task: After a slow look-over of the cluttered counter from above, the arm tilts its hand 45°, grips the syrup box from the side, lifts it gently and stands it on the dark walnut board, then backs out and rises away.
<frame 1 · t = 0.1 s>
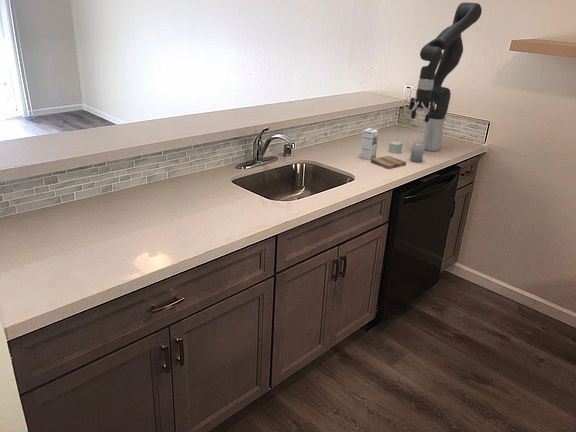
hand: (419, 120, 246), 17 cm above the worktop, tool pointing down, fingers open, 8 cm apart
sage block: (394, 152, 253), on the worktop
syrup box: (367, 158, 242), on the worktop
walnut board: (388, 163, 234), on the worktop
grey rounded cylinder: (415, 160, 240), on the worktop
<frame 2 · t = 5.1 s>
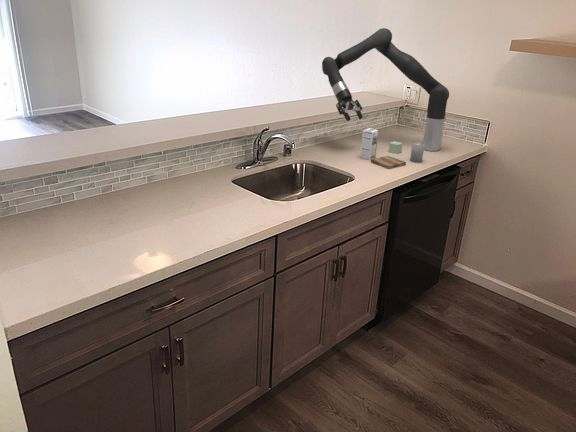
hand: (355, 119, 243), 17 cm above the worktop, tool tilted 45°, fingers open, 8 cm apart
nothing on the worktop moved.
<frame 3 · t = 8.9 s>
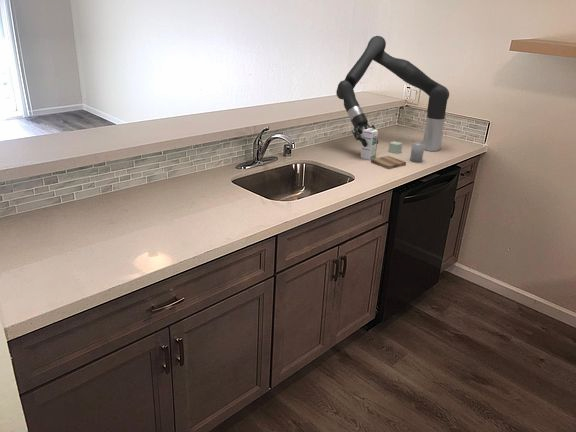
hand: (371, 145, 238), 7 cm above the worktop, tool tilted 45°, fingers closed on syrup box, 7 cm apart
syrup box: (367, 158, 242), on the worktop, touching gripper
everything else where it was.
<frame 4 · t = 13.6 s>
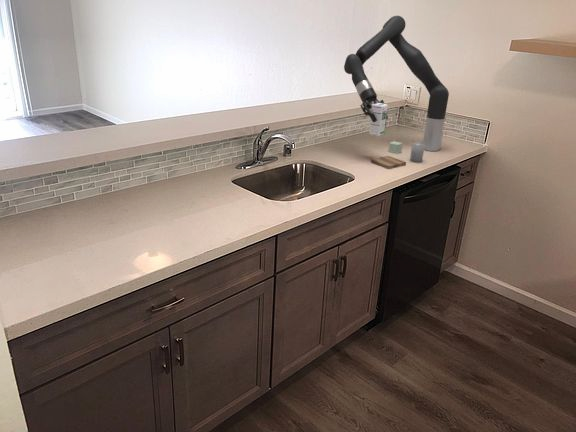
hand: (380, 120, 230), 20 cm above the worktop, tool tilted 45°, fingers closed on syrup box, 7 cm apart
syrup box: (376, 134, 234), point 13 cm above the worktop, touching gripper
everything else where it was.
when the fingers open (10 cm above the worktop, at t = 18.1 s): syrup box drops 1 cm, resting on walnut board.
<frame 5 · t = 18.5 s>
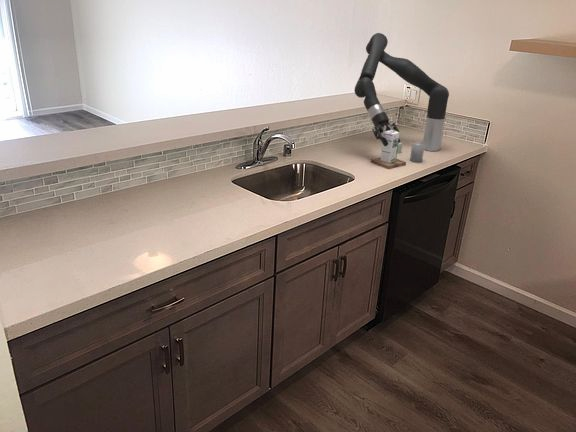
hand: (392, 144, 229), 10 cm above the worktop, tool tilted 45°, fingers open, 8 cm apart
syrup box: (387, 161, 234), point 1 cm above the worktop, touching walnut board
everything else where it was.
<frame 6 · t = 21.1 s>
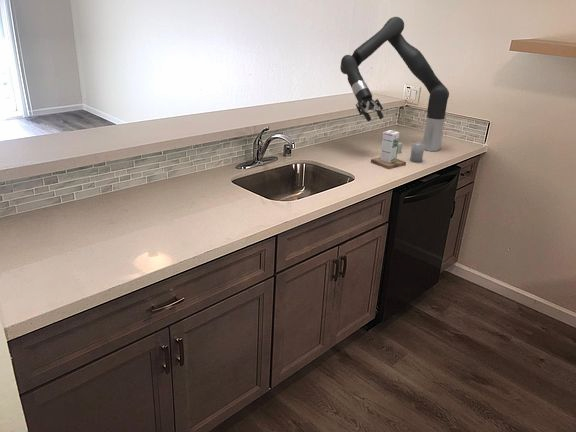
hand: (375, 119, 234), 19 cm above the worktop, tool tilted 45°, fingers open, 8 cm apart
nothing on the worktop moved.
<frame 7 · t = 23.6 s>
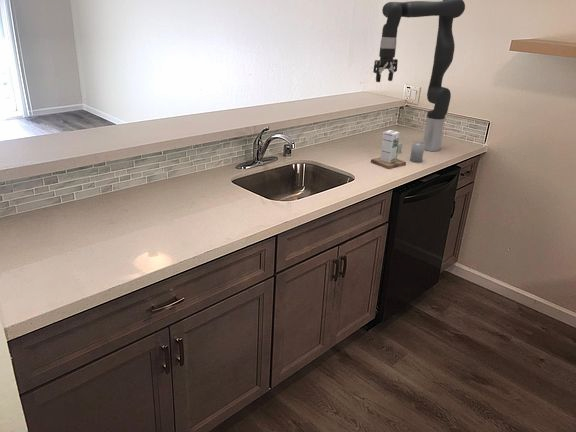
hand: (384, 81, 238), 36 cm above the worktop, tool pointing down, fingers open, 8 cm apart
nothing on the worktop moved.
at the end: syrup box inside the target area on the walnut board (0.2 cm from its centre), point 1.3 cm above the walnut board's base; syrup box tilted 0°; the gripper is holding nothing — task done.
